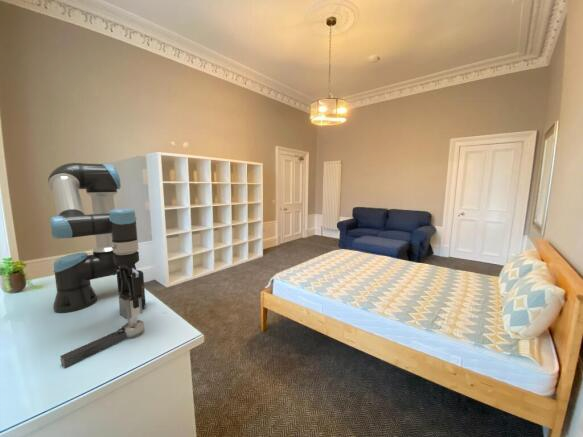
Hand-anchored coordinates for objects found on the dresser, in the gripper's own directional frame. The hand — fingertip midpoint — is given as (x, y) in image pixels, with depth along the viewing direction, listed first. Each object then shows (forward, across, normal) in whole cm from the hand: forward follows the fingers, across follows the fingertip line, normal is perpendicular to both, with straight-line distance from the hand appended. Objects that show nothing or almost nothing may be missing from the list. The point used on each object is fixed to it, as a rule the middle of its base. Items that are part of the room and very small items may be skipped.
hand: (131, 313), depth 91 cm
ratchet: (+8, 0, -8) cm, 11 cm away
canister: (+8, -19, +9) cm, 23 cm away
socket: (0, 0, 0) cm, 0 cm away
